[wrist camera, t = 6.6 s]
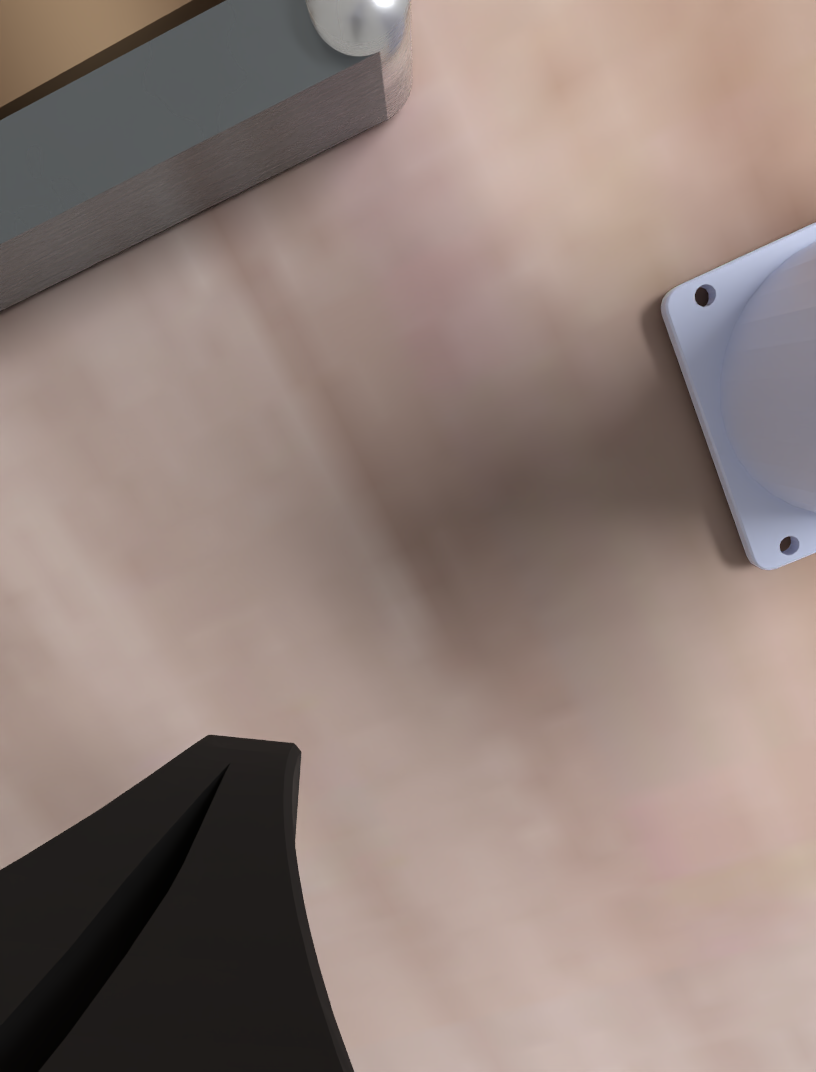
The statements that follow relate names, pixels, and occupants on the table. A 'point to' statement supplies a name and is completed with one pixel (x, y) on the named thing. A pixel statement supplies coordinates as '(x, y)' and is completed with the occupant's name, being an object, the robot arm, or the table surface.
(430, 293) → the table surface
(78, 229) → the hinged leg
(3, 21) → the stool seat
